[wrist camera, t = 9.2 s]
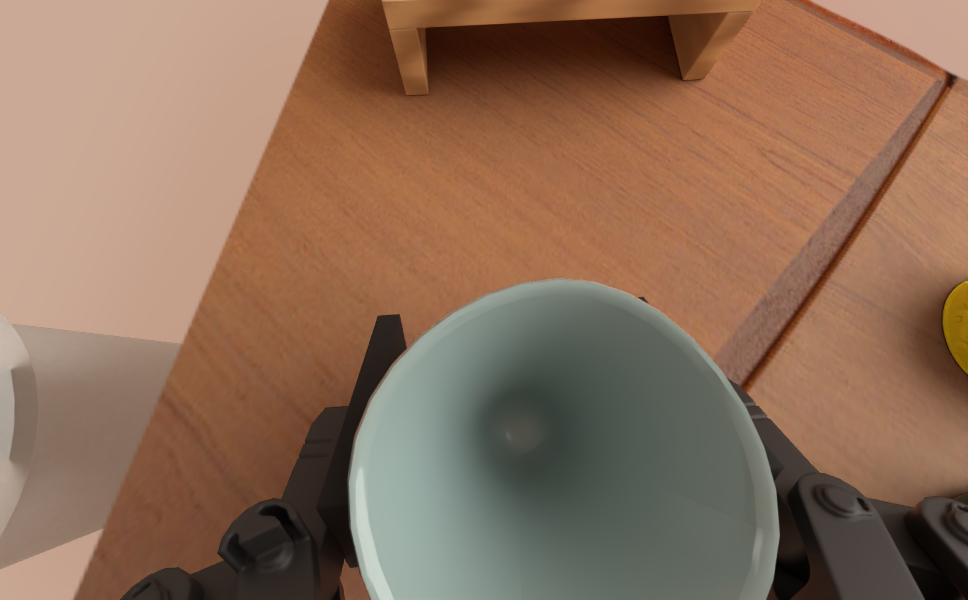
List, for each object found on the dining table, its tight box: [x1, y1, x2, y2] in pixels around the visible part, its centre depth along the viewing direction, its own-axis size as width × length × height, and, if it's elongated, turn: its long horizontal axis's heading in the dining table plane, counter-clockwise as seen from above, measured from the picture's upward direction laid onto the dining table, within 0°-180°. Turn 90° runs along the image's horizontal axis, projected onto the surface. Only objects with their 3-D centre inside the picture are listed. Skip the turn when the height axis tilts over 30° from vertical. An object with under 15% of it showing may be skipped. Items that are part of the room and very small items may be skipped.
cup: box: [347, 278, 780, 600], centre depth 11 cm, size 8×8×10 cm
